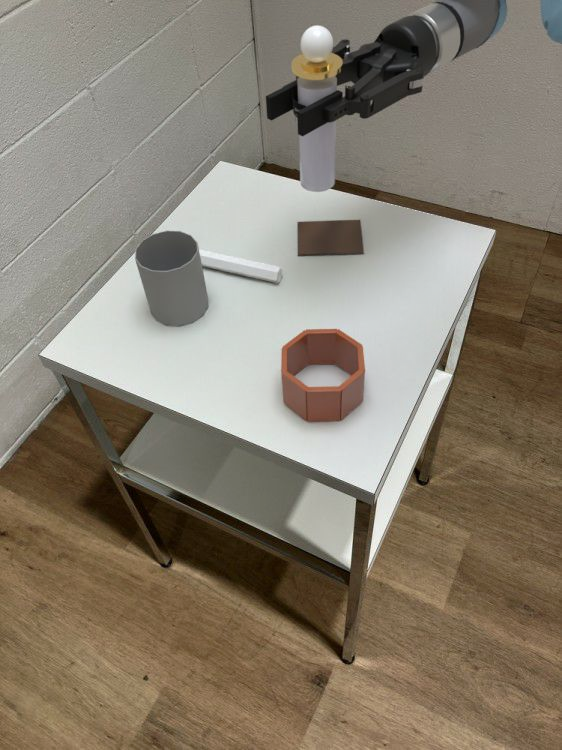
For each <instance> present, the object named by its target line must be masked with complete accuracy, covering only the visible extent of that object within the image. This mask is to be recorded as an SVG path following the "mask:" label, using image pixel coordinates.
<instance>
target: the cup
mask: <svg viewBox="0 0 562 750" xmlns="http://www.w3.org/2000/svg"><path fill="white" fill-rule="evenodd" d="M199 247H200V246H199V242H198V241H197V240H196V239H195V238H194V237H193V235H192V234H189V233H187V232H183V231H181V230H163V231H159V232H155V233H153V234H151V235H149V236H147V237H146V238H144V239H142V240H141V241H140V243H138V245H137V247H135V250H134V252H135V253H134V261H135V265H136V267H137V271H138V274H139V278H140V280H141V284H142V288H143V291H144V294H145V299H146V301H147V305H148V308H149V312H150V314H151V315H152V317H153V319H154V320H155V321H156V322H158V323H159V324H162V325H164V326H167V327H183V326H187V325H189V324H193V323H194V322H196V321H198V320H199V319H201V318H202V317H204V315H205V313H206V312H207V310H208V308H209V295H208V290H207V284H206V279H205V275H204V270H203V266H202V263H201V258H200V253H199V249H200V248H199Z"/></svg>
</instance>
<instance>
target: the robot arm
mask: <svg viewBox="0 0 562 750" xmlns="http://www.w3.org/2000/svg"><path fill="white" fill-rule="evenodd" d="M540 15H541V17H540V18H541V21H542V25H543V28H544V29H545V30H546V35H547V36H548V38H550V40H551V41H553V42H555V43H558V44H561V45H562V0H540ZM507 16H508V4H507V0H435V1H433V2H432V3H430V4H428V5H425V6H423V7H422V8H419V9H416V10H414V11H413V12H410V13H409V14H407V15H406V16H404V17H402V18H399V19H397V20H396V21H393V22H392V23H390V24H388V25H386V26H384V27H383V28H382V30H381V31H380V32H379V34H378V35H377V37H376V38H375V40H374V41H372V42H369V43H364V44H362V45H360V46H359V47H356V46H355V47H354V46H351V41H350V40H349V39H347V38H346V39H345V38H344V39H341V40H340V41H339V42H338V43H337V44H336V45H335V46H333V50H332V53H333V54H336V55H338V56H339V57H340V58H341V59H342V61H343V68H342V71H341V72H340V73H339V74H337V75H336V76H335V77H336V78H337V87H338V86H341V85H344V84H346V85H345V86H344V92H343V91H341V90H339V89H337V91H335V92H333V93H332V94H330V95H328V96H326V97H324V98H322V99H320V100H318V101H316V102H314V103H312V104H311V105H309V106H307V107H305V108H303V109H301V110H299V111H297V110H296V111H297V117H296V118H297V135H298V136H299V135H300V136H302V137H303V136H304V135H306V134H308V133H310V132H312V131H313V130H315V129H317V128H319V127H321V126H322V125H324V124H326V123H328V122H329V123H330V122H334V121H336V122H337V121H338V120H339V119H341V118H343V117H344V116H353V115H355V114H359V118H360V119H363V120H366V119H369V118H371V117H373V116H374V115H376V114H378V113H380V112H381V111H383V110H385V109H387V108H389V107H390V106H393V105H394V104H396V103H398V102H400V101H401V100H403V99H405V98H407V97H410V96H413V95H416V94H420V93H422V92H423V87H424V86H423V85H424V78H425V77H426V76H427V75H429V74H431V73H433V72H434V71H437V70H438V69H440V68H441V67H443V66H445V65H447V64H448V63H450V62H452V61H454V60H456V59H459V58H460V57H461V56H464V55H465V54H467V53H469V52H471V51H473V50H475V49H479V48H480V47H481V46H483V45H484V44H485V43H487V42H488V41H489V40H490V39H491V38H493V37H494V36H496V35H497V34H498V33H499V32H500V31H501V29H502V28H503V26H504V24H505V21H506V20H507ZM298 78H299V77H298V76H296V75H295V79H294V80H293V81H291V82H289V83H287V84H285V85H283V86H282V87H280V88H279V89H276V90H275V91H273V92H271V93H270V94H269V93H268V94H267V95H265V105H266V106H265V108H266V119H267V120H269V121H274V120H275V119H278V118H279V117H281V116H283V115H285V114H287V113H289V112H291V111H294V110H293V99H294V100H295V101H296V102H298V86H297V80H298ZM350 82H351V83H352V86H351V85H347V83H350ZM294 83H295V84H294ZM292 85H293V86H292ZM292 90H293V94H292ZM343 93H344V95H343ZM294 107H295V106H294Z"/></svg>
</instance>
